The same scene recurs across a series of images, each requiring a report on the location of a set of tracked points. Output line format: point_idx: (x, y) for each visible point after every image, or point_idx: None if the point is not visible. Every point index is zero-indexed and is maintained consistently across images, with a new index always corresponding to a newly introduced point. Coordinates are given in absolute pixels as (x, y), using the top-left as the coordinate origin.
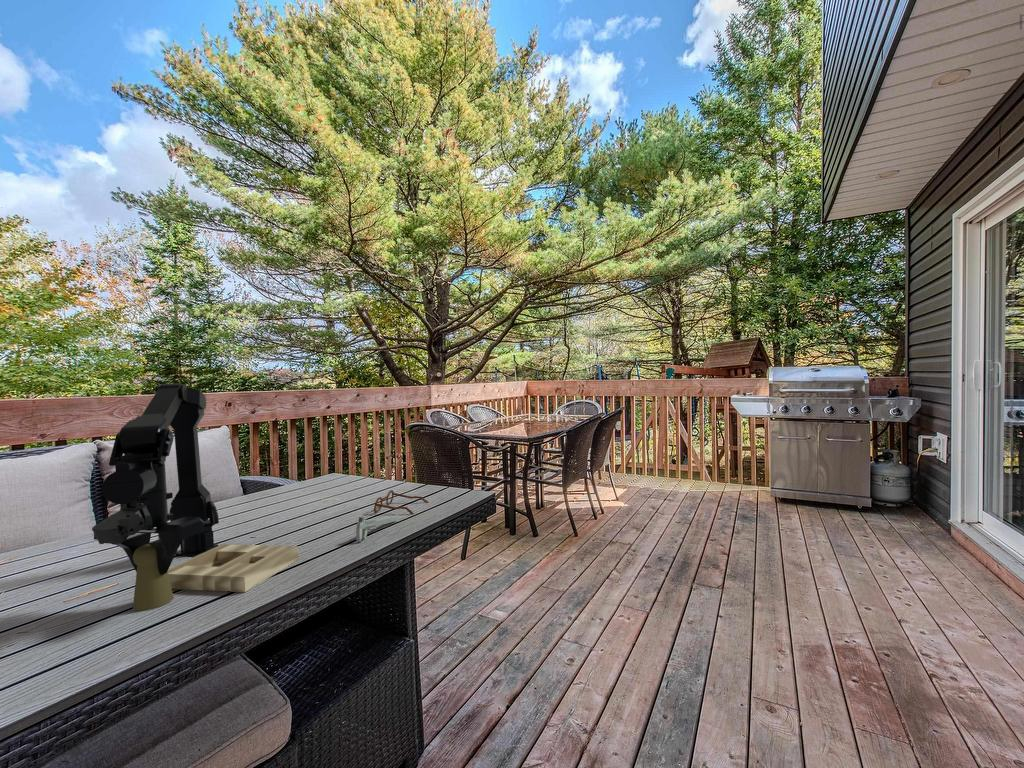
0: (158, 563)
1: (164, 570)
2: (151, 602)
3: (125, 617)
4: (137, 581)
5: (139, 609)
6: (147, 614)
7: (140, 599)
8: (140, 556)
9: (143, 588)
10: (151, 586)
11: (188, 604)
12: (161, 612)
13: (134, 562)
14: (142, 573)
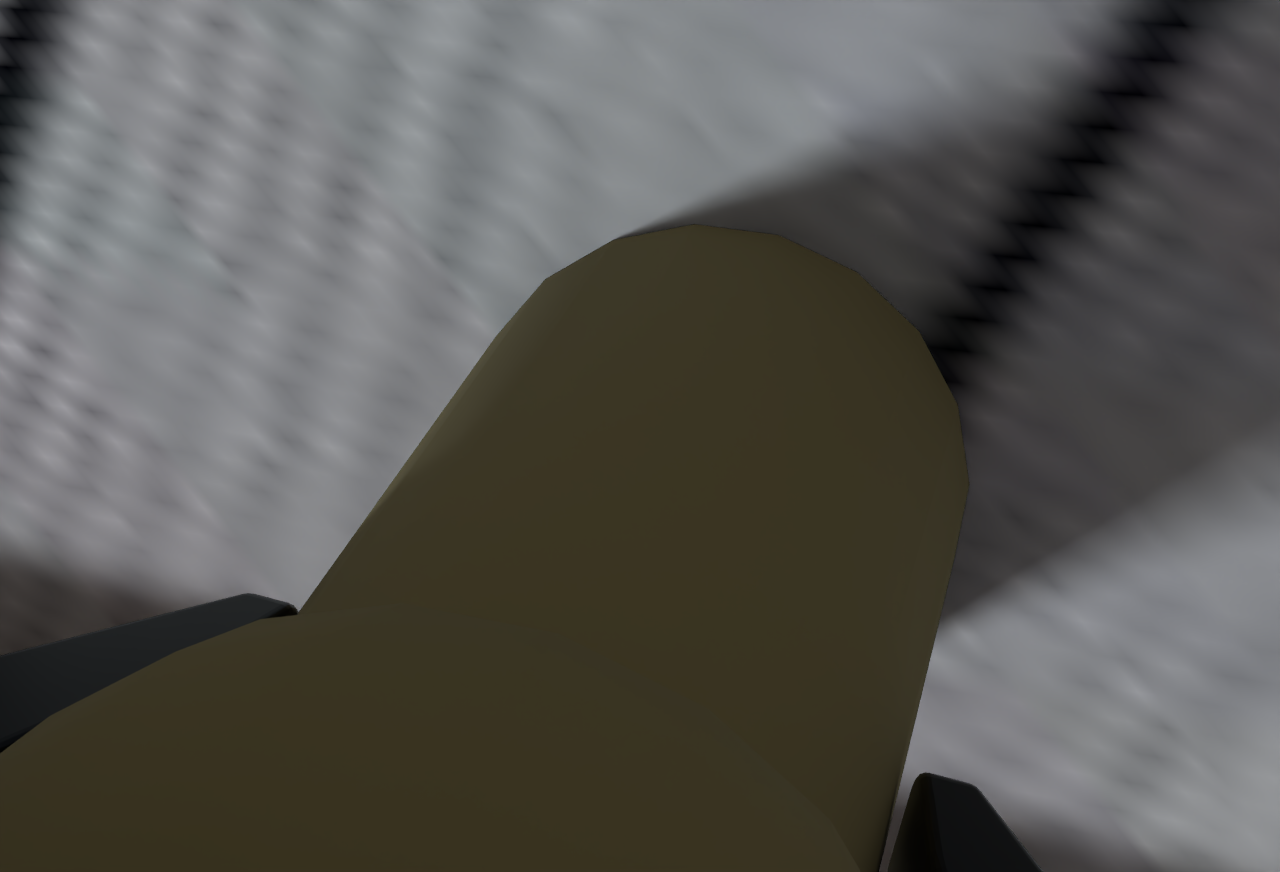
0: (65, 705)
1: None
2: (544, 299)
3: (801, 24)
4: (734, 453)
5: (721, 231)
6: (501, 100)
7: (684, 281)
8: (221, 755)
9: (599, 361)
10: (464, 405)
11: (136, 355)
12: (331, 147)
13: (755, 765)
14: (531, 508)
